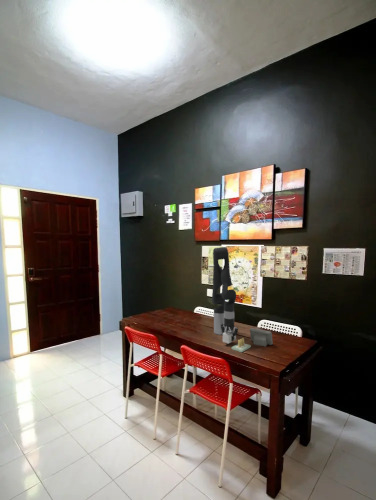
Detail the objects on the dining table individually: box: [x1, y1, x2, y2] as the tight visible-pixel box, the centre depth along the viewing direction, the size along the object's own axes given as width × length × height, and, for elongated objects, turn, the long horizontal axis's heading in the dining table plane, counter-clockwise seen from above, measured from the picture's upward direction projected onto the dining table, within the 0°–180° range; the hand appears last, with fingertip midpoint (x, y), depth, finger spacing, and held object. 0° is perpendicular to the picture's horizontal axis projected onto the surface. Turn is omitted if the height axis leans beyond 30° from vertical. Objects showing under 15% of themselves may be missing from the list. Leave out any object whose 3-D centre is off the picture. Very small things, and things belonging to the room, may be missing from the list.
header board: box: [231, 337, 252, 353], centre depth 170 cm, size 12×8×6 cm, turn 136°
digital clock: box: [249, 327, 274, 347], centre depth 178 cm, size 16×9×11 cm, turn 46°
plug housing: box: [222, 330, 237, 344], centre depth 177 cm, size 10×5×7 cm, turn 137°
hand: (229, 339), depth 177 cm, fingers closed on plug housing, 5 cm apart
